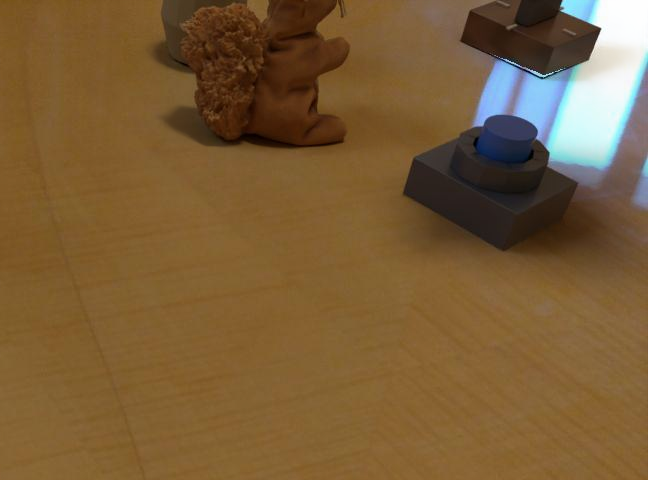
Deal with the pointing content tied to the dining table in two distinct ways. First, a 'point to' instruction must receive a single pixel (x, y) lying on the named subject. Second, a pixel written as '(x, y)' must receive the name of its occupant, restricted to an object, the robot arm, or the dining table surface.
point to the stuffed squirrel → (264, 70)
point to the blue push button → (507, 139)
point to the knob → (536, 11)
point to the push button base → (490, 190)
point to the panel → (530, 37)
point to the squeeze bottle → (184, 19)
